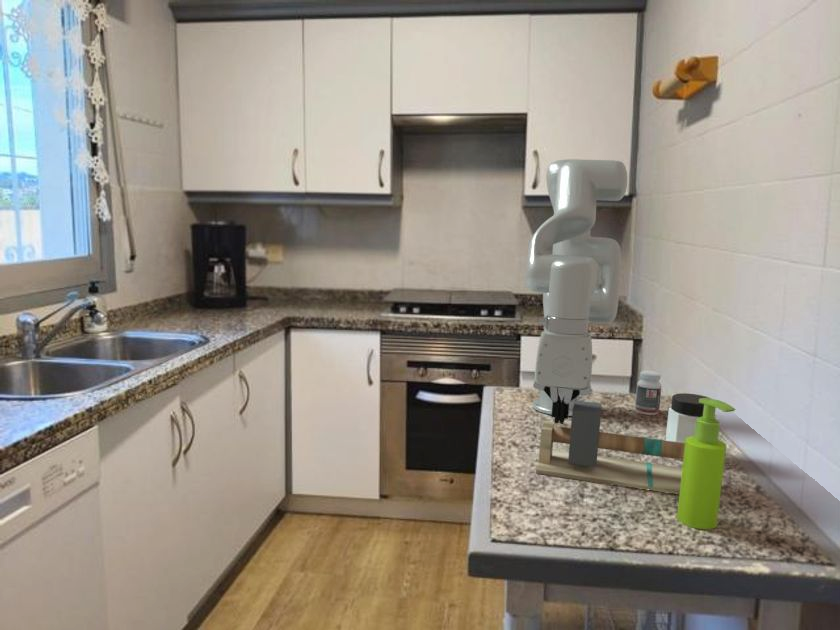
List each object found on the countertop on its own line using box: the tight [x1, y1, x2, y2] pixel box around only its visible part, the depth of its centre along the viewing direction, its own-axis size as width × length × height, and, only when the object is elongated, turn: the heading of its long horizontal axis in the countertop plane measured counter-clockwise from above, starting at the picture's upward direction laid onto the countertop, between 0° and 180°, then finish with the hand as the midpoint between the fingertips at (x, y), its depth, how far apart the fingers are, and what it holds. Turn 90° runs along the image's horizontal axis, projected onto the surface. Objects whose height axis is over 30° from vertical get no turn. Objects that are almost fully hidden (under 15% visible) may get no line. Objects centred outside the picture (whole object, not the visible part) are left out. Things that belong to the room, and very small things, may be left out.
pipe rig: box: [535, 420, 685, 495], centre depth 123 cm, size 12×30×8 cm, turn 73°
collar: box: [568, 400, 603, 467], centre depth 125 cm, size 8×5×10 cm, turn 163°
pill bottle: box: [634, 370, 662, 416], centre depth 164 cm, size 6×6×10 cm
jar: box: [665, 392, 717, 462], centre depth 135 cm, size 9×8×12 cm
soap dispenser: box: [676, 397, 736, 530], centre depth 104 cm, size 6×7×20 cm
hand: (559, 421), depth 126 cm, fingers closed
